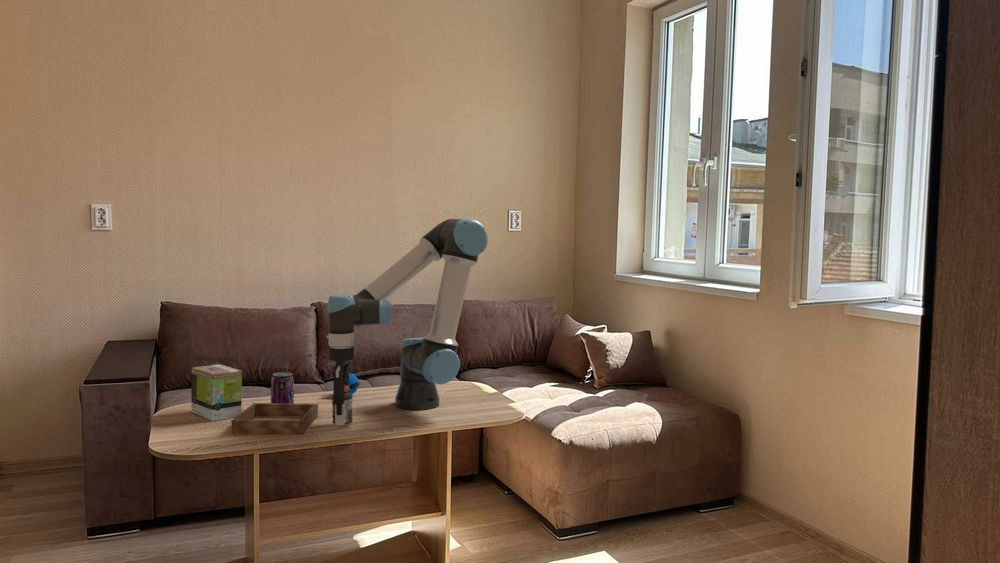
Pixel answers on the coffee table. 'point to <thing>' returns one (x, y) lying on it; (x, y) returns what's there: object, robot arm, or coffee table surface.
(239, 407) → the tea box
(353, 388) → the ornament
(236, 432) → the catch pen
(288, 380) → the beverage can
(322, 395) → the coffee table surface
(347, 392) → the pill bottle
